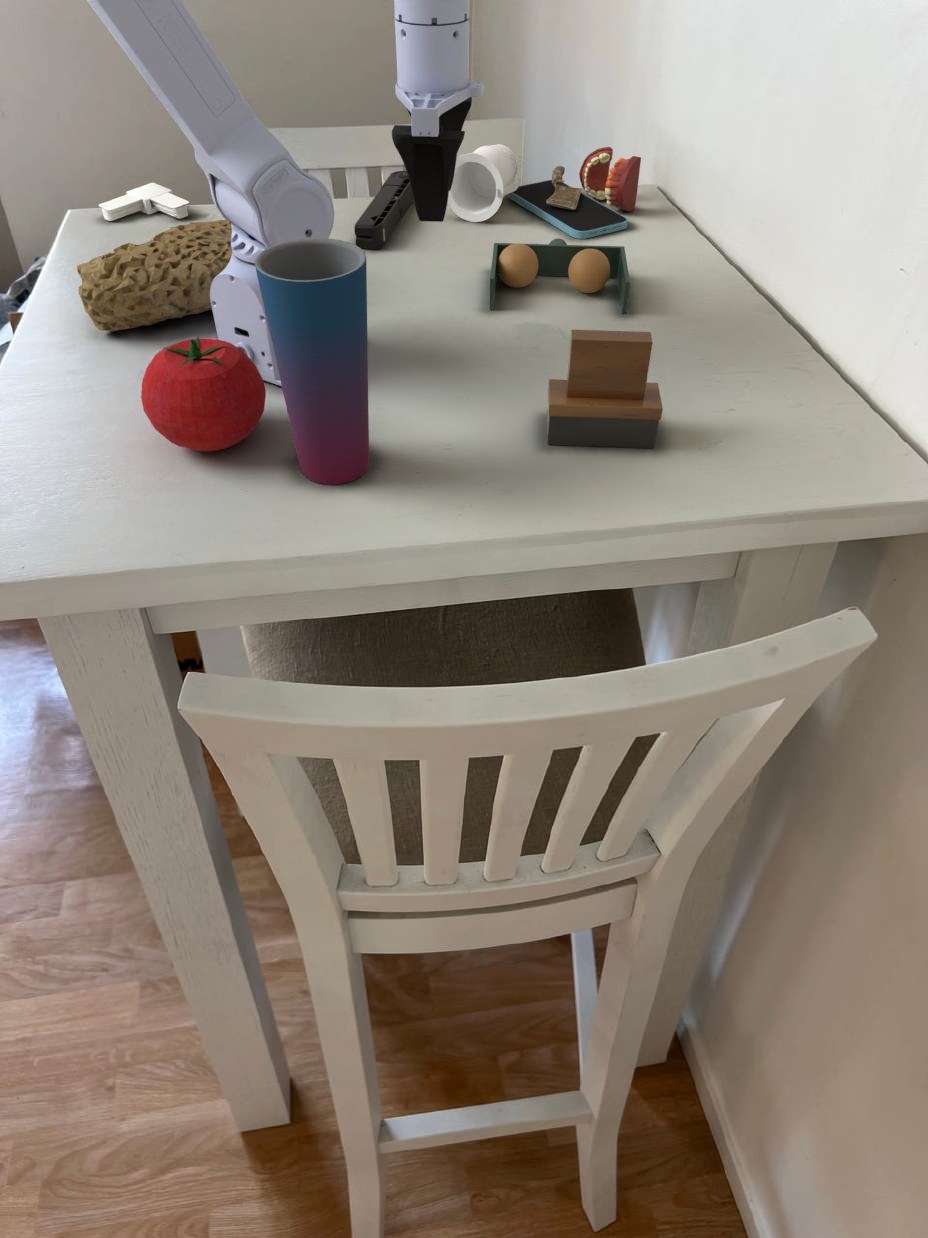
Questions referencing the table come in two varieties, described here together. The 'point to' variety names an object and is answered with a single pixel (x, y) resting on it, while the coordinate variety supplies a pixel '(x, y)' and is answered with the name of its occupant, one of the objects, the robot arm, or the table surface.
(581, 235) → the smartphone
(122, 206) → the corner connector
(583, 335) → the brush
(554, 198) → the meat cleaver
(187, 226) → the sponge
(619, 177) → the dentures
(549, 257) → the green u-shaped pusher
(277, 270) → the cup
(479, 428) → the table surface
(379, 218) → the tablet stand
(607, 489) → the table surface
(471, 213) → the downlight
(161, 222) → the table surface
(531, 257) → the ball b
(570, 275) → the ball
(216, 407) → the tomato
